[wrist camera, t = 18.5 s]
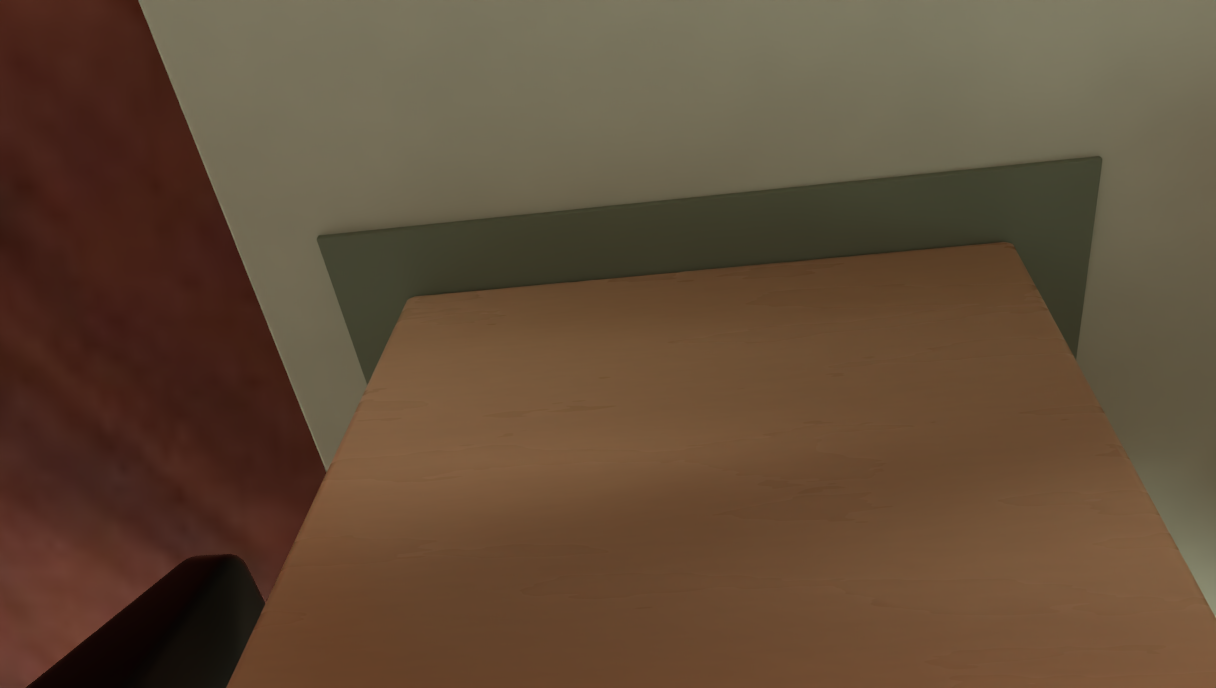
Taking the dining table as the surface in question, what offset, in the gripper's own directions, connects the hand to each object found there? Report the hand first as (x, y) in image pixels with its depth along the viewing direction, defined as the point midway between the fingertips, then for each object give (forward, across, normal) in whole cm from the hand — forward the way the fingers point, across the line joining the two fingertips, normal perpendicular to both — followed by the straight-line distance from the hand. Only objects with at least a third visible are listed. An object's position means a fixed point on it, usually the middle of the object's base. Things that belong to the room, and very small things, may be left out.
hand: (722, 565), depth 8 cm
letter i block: (+1, 0, 0) cm, 1 cm away
